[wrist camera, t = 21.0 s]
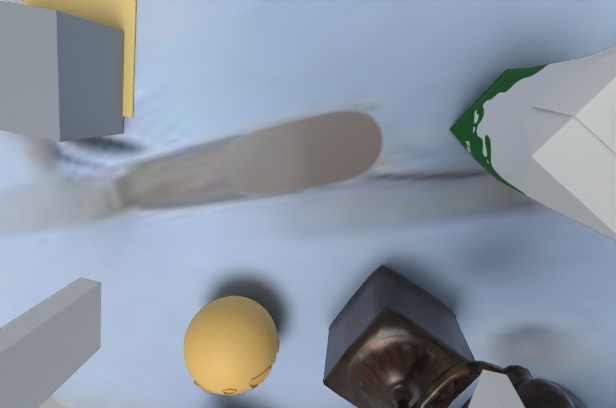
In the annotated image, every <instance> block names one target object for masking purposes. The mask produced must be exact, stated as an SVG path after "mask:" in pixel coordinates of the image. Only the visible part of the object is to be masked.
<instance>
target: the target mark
mask: <svg viewBox="0 0 616 408" xmlns="http://www.w3.org/2000/svg"><path fill="white" fill-rule="evenodd" d="M136 3H137V0H23V5H28V6H33V7H39V8H45V9H51V10H56V11H60V12H63V13H66V14H69V15H73V16H76V17H79V18H82V19H86V20H89V21H92V22H95V23H99V24H102V25H105V26H108V27H112V28H115V29H118V30H121V31H124V77H123V116H124V117H129V118H133V102H134V69H135V36H136Z"/></svg>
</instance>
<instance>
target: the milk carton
mask: <svg viewBox="0 0 616 408" xmlns="http://www.w3.org/2000/svg"><path fill="white" fill-rule="evenodd" d="M450 131H451V132H452V133H453V134H454V135H455V136H456V138H457V139H458V140H459V141H460V143H461V144H462V145H463V146H464V147H465V149H466V150H467V151H468V152H469V153H470V154H471V156H472V157H473V158H474V159H475V160H476V161H477V162H479V163H480V164H481V165H482V166H483V167H484V168H485V169H486V170H487V171H489V172H490V173H491V174H492V175H493V176H494V177H495V178H497V179H498V180H499V181H501V182H502V183H504V184H506V185H508V186H510V187H512V188H513V189H515V190H517V191H519V192H521V193H523V194H524V195H526V196H528V197H530V198H532V199H534V200H535V201H537V202H539V203H541V204H543V205H545V206H547V207H548V208H550V209H552V210H554V211H556V212H558V213H560V214H562V215H564V216H566V217H569V218H571V219H573V220H575V221H577V222H579V223H581V224H583V225H585V226H587V227H589V228H591V229H593V230H595V231H597V232H599V233H601V234H603V235H605V236H607V237H609V238H611V239H613V240H615V241H616V46H613V47H610V48H608V49H605V50H603V51H600V52H597V53H595V54H592V55H589V56H586V57H582V58H577V59H573V60H568V61H563V62H557V63H552V64H547V65H542V66H537V67H532V68H523V69H507V70H506V71H505V72H504V73H503V74H502V75H501V76H500V78H499V79H498V80H497V81H496V82H495V83H494V84H493V85H492V86H491V87H490V88H489V89H488V90H487V91H486V92H485V93H484V94H483V95H482V96H481V97H480V98H479V100H478V101H477V102H476V103H475V104H474V105H473V106H472V107H471V108H470V109H469V110H468V111H467V112H466V113H465V114H464V115H463V116H462V117H461V118H460V119H459V120H458V122H457V123H456V124H455V125H454V126H453V127H452V128H451V129H450Z"/></svg>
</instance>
